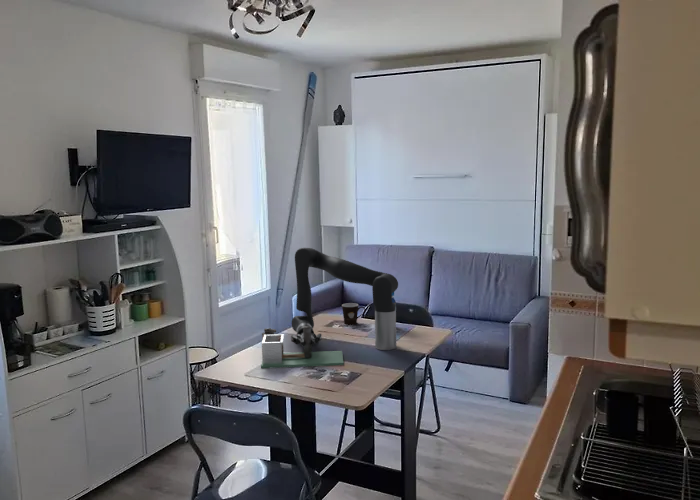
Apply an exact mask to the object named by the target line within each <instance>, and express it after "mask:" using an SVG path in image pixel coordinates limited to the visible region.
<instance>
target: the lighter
mask: <svg viewBox="0 0 700 500" xmlns="http://www.w3.org/2000/svg"><path fill="white" fill-rule="evenodd" d="M263 331H264V332H262V333H261V336H262V337H261V338H263V337H264V335H276V334H277V329H276V328H275V329H274V328H271V327H269V328H264V329H263Z"/></svg>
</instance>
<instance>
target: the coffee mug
mask: <svg viewBox="0 0 700 500" xmlns="http://www.w3.org/2000/svg"><path fill="white" fill-rule="evenodd" d="M341 309H342V317H343V322H344V325H345V326H354V325H357V324H358V319H359V318H361V317H362V316H363V315H364V314H365V313H366V308H365V307H364V306H359V304H358V303H355V302H354V303H353V302H348V303H343V304H341ZM360 309H363V312H362V313H361V314H360V315H358V313H359V311H360Z"/></svg>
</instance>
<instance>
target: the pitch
mask: <svg viewBox="0 0 700 500" xmlns="http://www.w3.org/2000/svg"><path fill="white" fill-rule="evenodd" d="M284 354H304V351H300V352H298V351H297V352H295V351H294V352H284ZM330 366H332V367H333V366H345V364H344V355H343V350H334V351H333V350H328V351H326V350H325V351H312V357H311V358H305V357H303V358H282V363H280V364H263V362H262V361H261V365H260V369H270V368H271V369H272V368H273V369H274V368H275V369H276V368H299V367H300V368H301V367H304V368H305V367H330Z"/></svg>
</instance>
